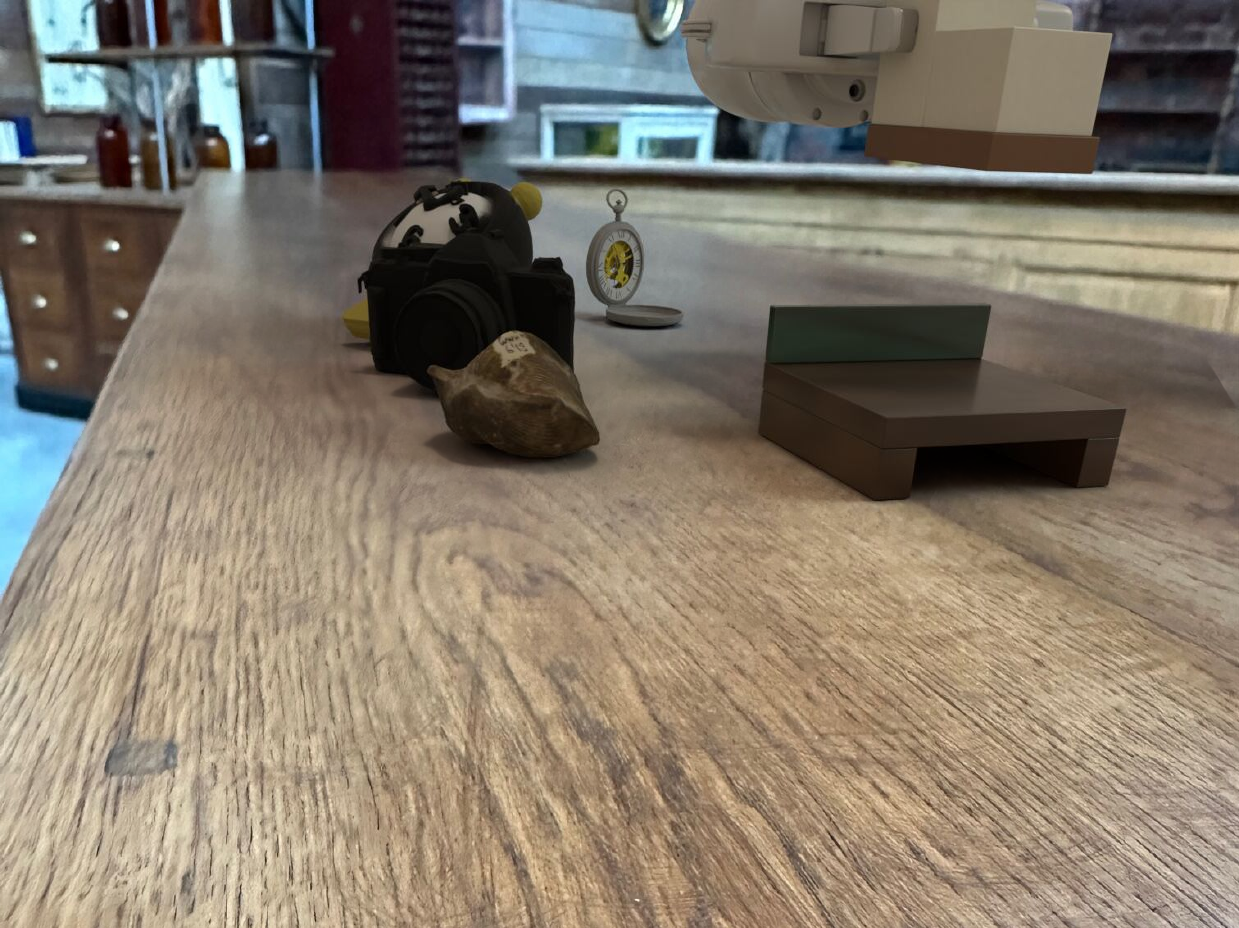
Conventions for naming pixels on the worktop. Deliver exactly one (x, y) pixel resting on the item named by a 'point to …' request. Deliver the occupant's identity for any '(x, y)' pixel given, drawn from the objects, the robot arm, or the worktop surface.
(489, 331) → the film camera
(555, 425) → the fossilized seashell
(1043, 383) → the low wooden bench
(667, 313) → the pocket watch
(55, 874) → the worktop surface
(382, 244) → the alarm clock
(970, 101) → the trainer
